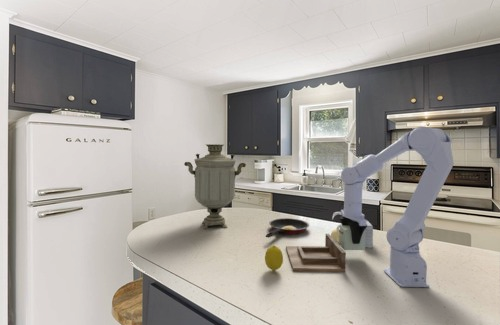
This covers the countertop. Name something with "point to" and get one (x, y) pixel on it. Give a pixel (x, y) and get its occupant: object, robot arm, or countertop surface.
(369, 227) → the medicine box
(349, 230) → the pale green block
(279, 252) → the lemon
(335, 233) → the yellow stemmed oval
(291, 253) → the brown wooden stand
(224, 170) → the samovar
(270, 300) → the countertop surface
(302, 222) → the frying pan
